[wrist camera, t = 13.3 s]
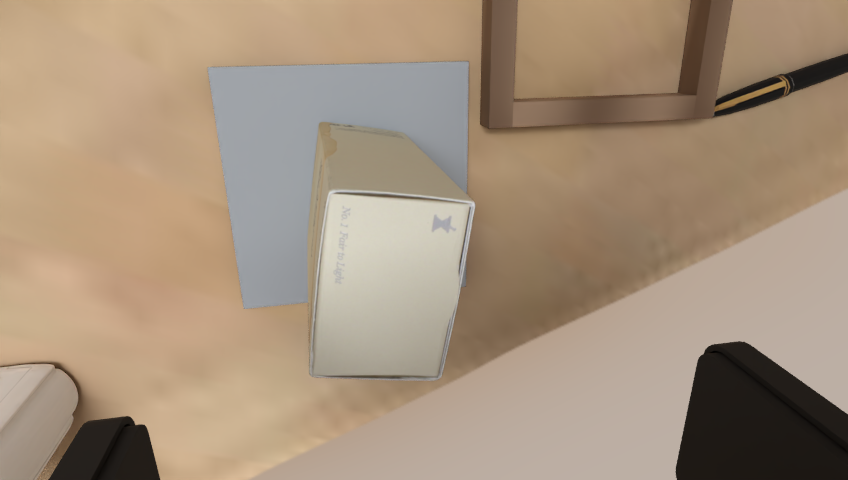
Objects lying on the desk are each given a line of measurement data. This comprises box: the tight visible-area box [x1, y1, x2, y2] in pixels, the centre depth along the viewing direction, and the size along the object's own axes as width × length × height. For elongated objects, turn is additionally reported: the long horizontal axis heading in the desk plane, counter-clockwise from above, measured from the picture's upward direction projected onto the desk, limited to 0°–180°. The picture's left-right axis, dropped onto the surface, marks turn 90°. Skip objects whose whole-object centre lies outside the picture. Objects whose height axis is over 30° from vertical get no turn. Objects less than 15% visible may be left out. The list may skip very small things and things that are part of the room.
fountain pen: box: [713, 54, 848, 117], centre depth 29 cm, size 14×1×2 cm, turn 107°
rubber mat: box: [208, 61, 469, 309], centre depth 27 cm, size 12×12×1 cm
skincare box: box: [307, 122, 475, 381], centre depth 21 cm, size 6×4×12 cm
